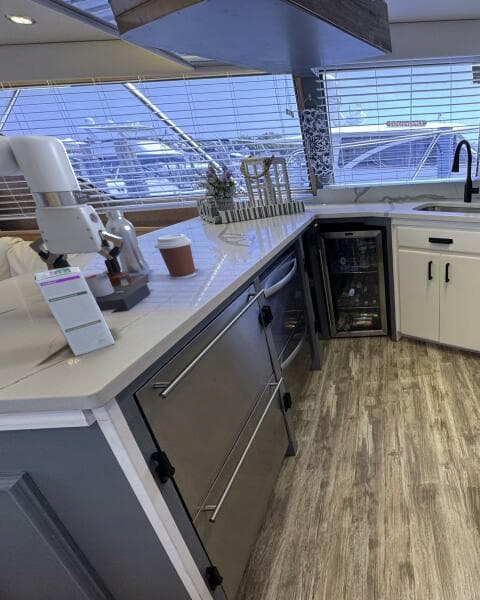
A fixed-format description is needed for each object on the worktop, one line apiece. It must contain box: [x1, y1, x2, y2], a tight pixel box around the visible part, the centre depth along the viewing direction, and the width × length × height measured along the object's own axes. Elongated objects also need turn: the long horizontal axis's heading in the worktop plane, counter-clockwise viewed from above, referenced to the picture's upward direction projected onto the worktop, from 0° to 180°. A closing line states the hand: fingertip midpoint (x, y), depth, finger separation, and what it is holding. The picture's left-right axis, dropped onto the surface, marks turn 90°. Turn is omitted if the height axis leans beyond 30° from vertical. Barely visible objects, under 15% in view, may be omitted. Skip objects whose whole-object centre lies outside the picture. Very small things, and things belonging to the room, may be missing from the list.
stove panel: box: [94, 282, 151, 313], centre depth 77 cm, size 14×11×3 cm
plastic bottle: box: [104, 208, 151, 276], centre depth 95 cm, size 6×7×20 cm
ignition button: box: [102, 269, 122, 278], centre depth 87 cm, size 4×4×2 cm
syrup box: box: [33, 265, 115, 357], centre depth 57 cm, size 6×6×14 cm
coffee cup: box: [154, 233, 197, 280], centre depth 95 cm, size 9×9×12 cm
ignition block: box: [109, 271, 149, 287], centre depth 88 cm, size 11×9×4 cm
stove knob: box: [83, 272, 114, 297], centre depth 76 cm, size 4×4×5 cm
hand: (91, 276), depth 75 cm, fingers open, 9 cm apart
